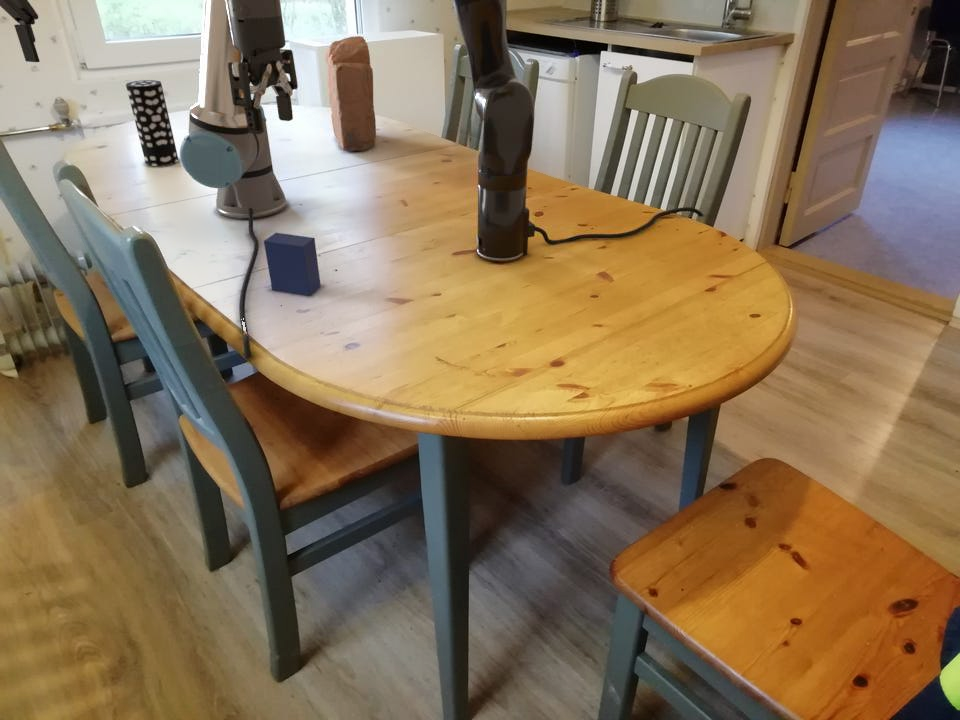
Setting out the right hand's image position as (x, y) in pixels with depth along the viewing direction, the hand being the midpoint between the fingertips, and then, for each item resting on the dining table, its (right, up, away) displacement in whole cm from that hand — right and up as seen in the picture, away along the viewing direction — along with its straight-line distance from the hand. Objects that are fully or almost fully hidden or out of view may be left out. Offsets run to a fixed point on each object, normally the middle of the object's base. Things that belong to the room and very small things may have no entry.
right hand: (271, 126), depth 109 cm
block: (0, -24, +15) cm, 29 cm away
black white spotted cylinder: (-53, +25, +72) cm, 93 cm away
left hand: (-57, +18, +21) cm, 63 cm away
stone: (-4, +28, +96) cm, 100 cm away
